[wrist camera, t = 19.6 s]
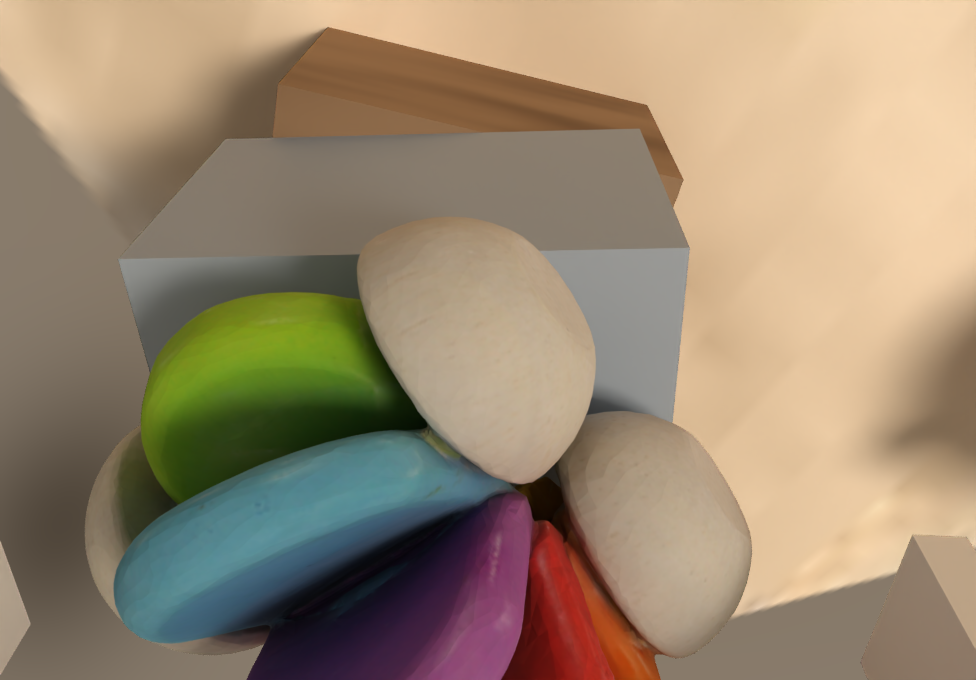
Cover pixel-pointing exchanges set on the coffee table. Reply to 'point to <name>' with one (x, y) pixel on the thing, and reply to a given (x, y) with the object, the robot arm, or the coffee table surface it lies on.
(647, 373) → the gray brick
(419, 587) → the rainbow petal toy
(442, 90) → the walnut brick
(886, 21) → the coffee table surface
